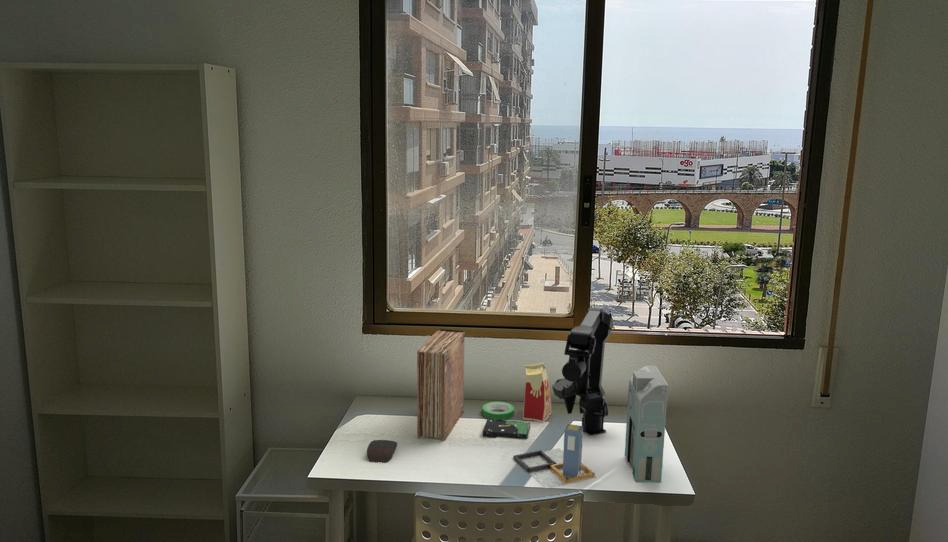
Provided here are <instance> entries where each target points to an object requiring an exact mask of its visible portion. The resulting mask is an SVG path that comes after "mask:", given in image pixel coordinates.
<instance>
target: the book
mask: <svg viewBox="0 0 948 542" xmlns="http://www.w3.org/2000/svg"><path fill="white" fill-rule="evenodd" d="M416 355H417V357H416V358H417V359H416V360H417V361H416V362H417V363H416V364H417V365H416V371H417V372H416V374H417V375H416V377H417V379H416V381H417V383H416V385H417V387H416V388H417V391H416V392H417V394H416V396H417V397H416V400H417V402H416V405H417V406H416V408H417V409H416V412H417V413H416V416H417V417H416V418H417V419H416V420H417V421H416V422H417V425H416V426H417V427H416V428H417V430H416V431H417V432H416V433H417V439H420V438H421V437H422V438H429V439H430V438H431V439H437V440H438V439H439V440H442V442H445V441H446V440H447V438H448V437H449V435H450V434H451V433H452V432H453V430H454V428H455V426H456V425H457V424H458V422H459V420H460V419H459V418H461V417H462V416H463V414H464V411H465V409H464V407H465V394H464V392H465V330H453V329H445V328H444V329H443V328H438V330H436V331H435V332H434V334H432V335H431V336H430V337H429V339H428V340H426V341H425V342H424V343H423V344H422V345H421V346H420V347H419V348H418V349H417V353H416ZM457 421H458V422H457ZM455 424H456V425H455Z"/></svg>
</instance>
